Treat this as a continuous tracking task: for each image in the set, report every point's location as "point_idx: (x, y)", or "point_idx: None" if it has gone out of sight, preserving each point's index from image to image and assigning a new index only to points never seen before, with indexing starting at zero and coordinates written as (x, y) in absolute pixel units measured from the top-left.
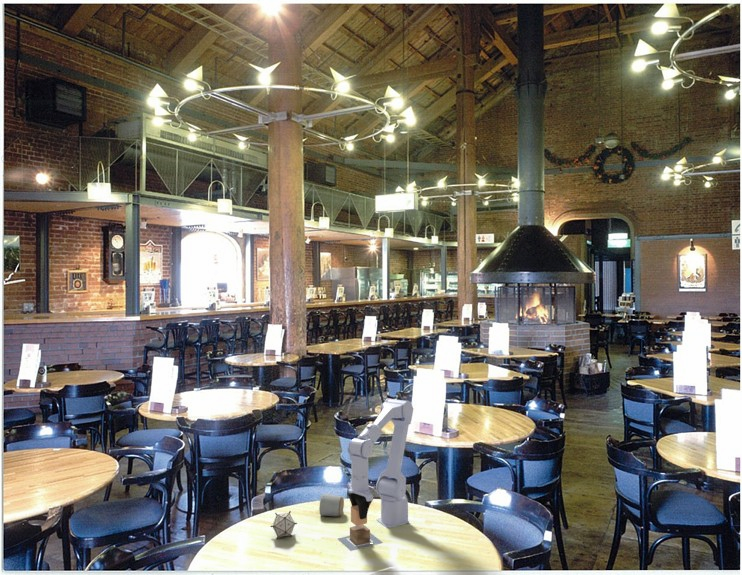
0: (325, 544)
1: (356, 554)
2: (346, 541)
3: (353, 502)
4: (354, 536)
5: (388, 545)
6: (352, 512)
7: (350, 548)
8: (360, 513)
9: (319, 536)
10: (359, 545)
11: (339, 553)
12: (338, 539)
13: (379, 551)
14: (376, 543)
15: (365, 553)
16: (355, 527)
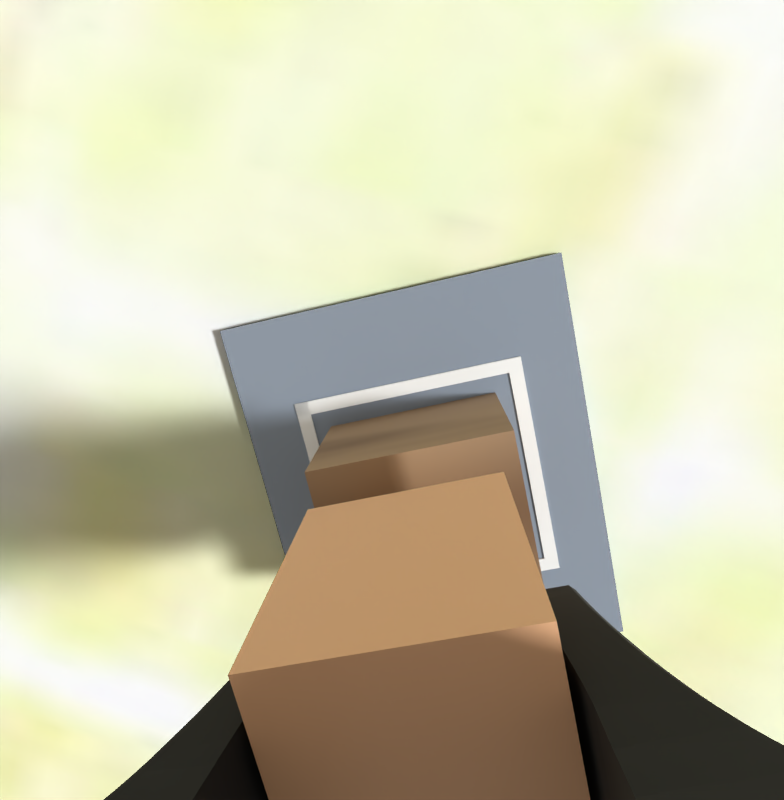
0: (479, 78)
1: (154, 373)
2: (451, 341)
3: (610, 775)
4: (375, 437)
5: None
6: (451, 570)
7: (272, 342)
8: (203, 709)
9: (732, 41)
10: (313, 451)
11: (212, 200)
12: (533, 262)
13: (172, 596)
14: None
15: (158, 463)
16: None
